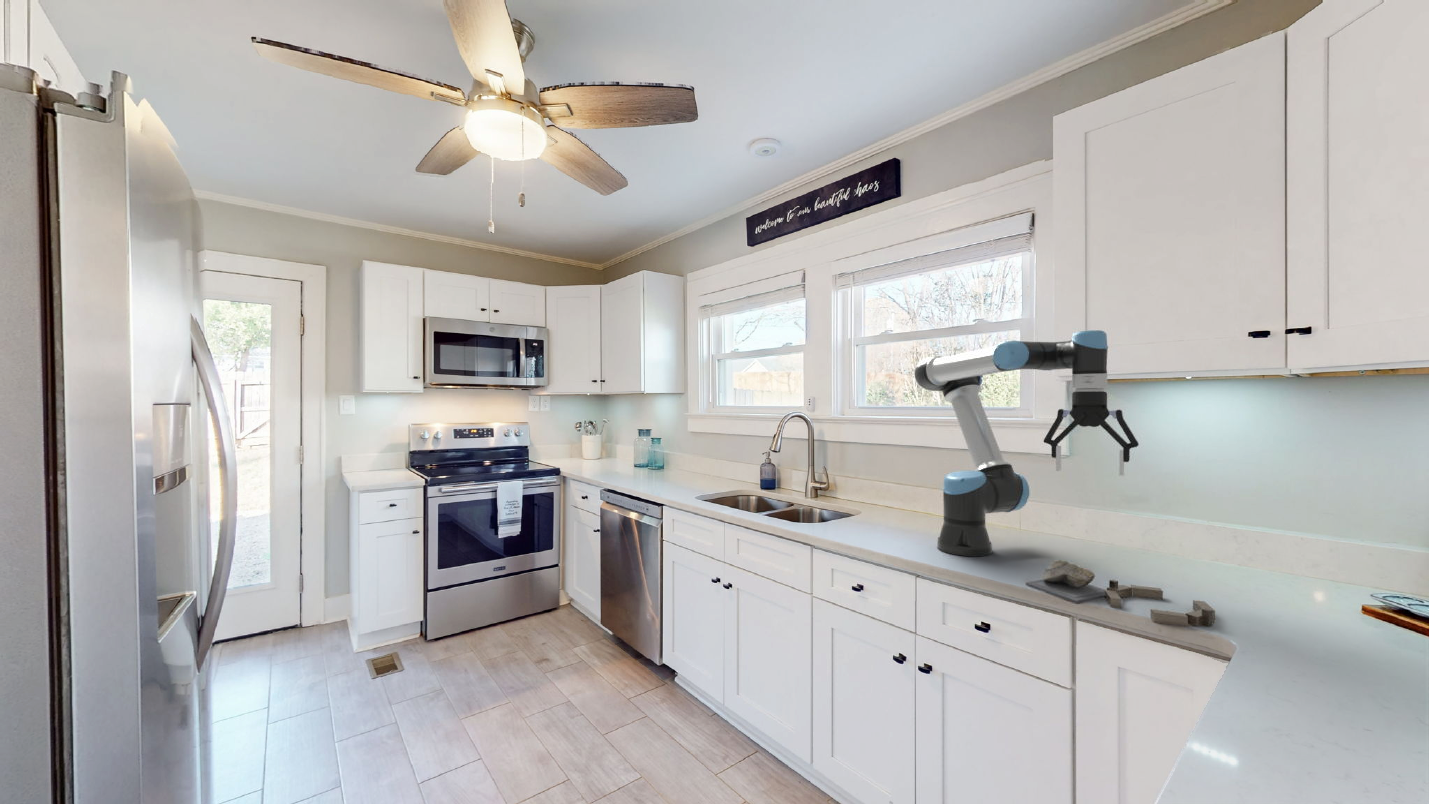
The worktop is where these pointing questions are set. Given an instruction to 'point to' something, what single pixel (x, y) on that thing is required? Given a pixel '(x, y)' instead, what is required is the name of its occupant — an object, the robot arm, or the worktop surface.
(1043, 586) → the mat
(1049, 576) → the fossilized seashell
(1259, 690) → the worktop surface
